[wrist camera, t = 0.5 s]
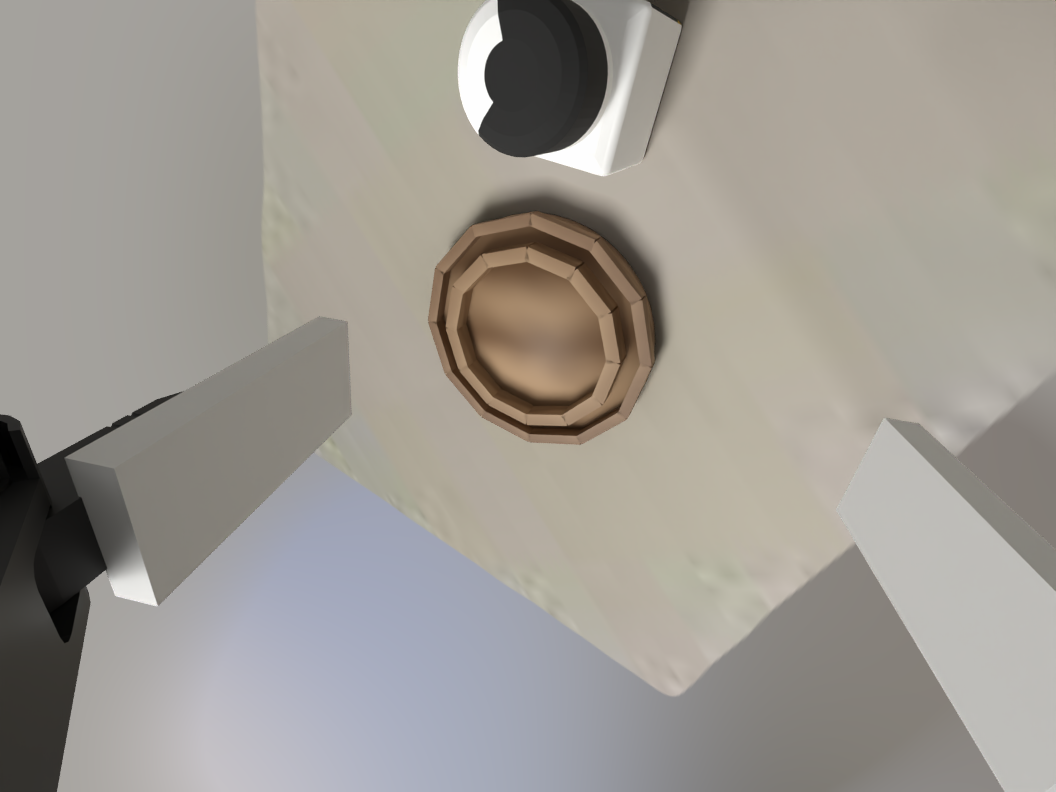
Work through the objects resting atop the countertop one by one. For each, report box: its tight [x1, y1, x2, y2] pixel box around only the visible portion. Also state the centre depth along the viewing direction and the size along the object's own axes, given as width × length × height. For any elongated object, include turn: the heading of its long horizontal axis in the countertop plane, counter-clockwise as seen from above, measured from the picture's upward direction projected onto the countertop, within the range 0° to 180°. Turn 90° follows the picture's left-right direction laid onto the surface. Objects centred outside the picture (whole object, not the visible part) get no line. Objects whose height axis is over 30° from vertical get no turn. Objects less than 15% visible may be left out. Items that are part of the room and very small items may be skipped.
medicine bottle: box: [458, 0, 682, 176], centre depth 25 cm, size 7×7×12 cm
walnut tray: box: [428, 211, 655, 445], centre depth 38 cm, size 18×18×2 cm
